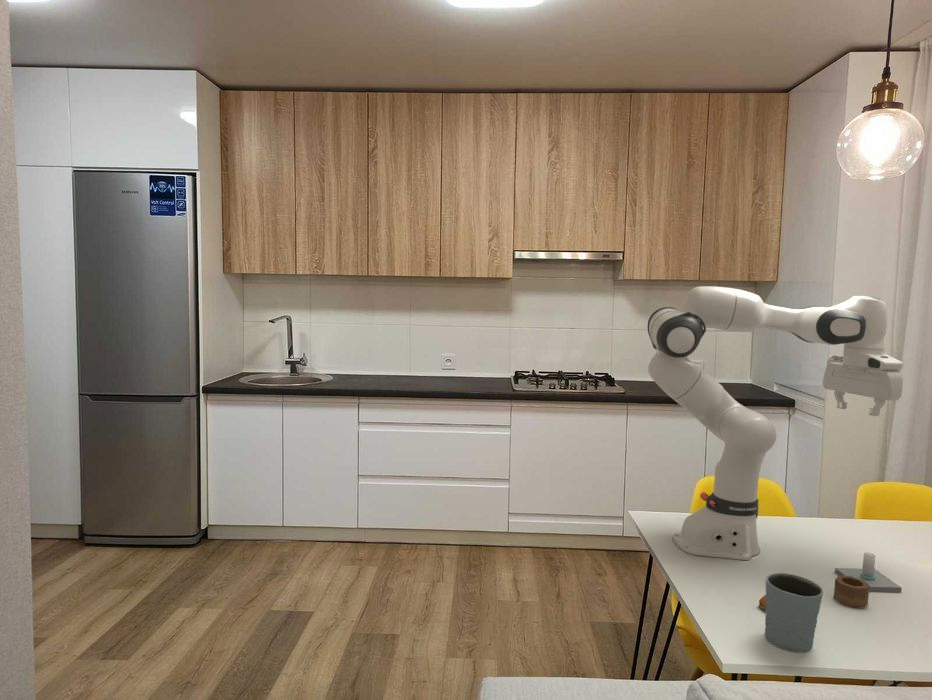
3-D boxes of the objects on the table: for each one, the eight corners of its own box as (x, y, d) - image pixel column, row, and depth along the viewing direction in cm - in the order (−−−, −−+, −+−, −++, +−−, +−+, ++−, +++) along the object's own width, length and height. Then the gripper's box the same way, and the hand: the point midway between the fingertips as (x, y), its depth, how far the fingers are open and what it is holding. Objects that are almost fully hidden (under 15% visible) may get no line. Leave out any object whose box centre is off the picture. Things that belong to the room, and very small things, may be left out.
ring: (845, 607, 142) (846, 587, 142) (829, 593, 148) (830, 575, 148) (872, 607, 142) (874, 588, 142) (855, 594, 148) (857, 576, 148)
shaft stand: (859, 591, 150) (861, 562, 150) (834, 572, 160) (837, 545, 160) (901, 592, 150) (904, 563, 150) (874, 573, 160) (877, 546, 160)
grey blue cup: (753, 626, 133) (757, 571, 132) (802, 628, 132) (807, 573, 131) (775, 654, 123) (780, 594, 122) (828, 656, 122) (833, 597, 121)
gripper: (819, 354, 172) (814, 404, 173) (890, 363, 153) (884, 420, 154) (837, 354, 174) (832, 404, 175) (909, 363, 155) (903, 419, 156)
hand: (857, 412), depth 164 cm, fingers open, 8 cm apart
